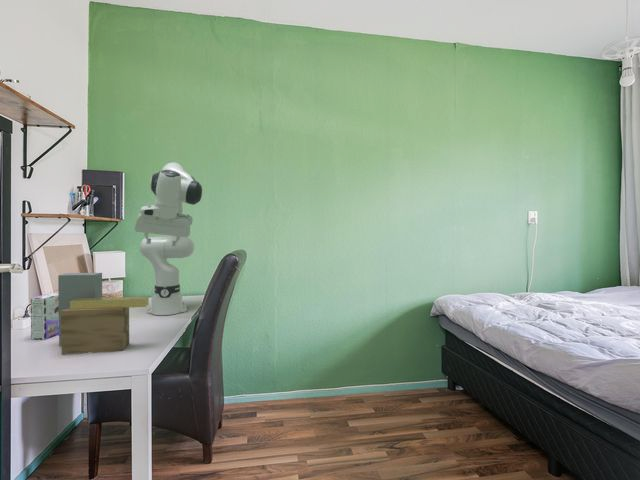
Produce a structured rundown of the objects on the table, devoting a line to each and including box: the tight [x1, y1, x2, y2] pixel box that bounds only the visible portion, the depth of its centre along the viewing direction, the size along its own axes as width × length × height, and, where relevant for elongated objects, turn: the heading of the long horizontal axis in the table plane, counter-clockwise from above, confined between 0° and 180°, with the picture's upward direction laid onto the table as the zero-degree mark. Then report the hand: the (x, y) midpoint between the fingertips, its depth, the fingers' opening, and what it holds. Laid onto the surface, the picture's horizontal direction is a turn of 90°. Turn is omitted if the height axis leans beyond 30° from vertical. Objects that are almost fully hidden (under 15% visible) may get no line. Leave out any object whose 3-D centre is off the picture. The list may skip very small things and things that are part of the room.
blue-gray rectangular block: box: [57, 272, 103, 347], centre depth 127 cm, size 6×12×26 cm, turn 102°
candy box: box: [30, 291, 59, 341], centre depth 136 cm, size 14×6×16 cm, turn 178°
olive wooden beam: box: [70, 296, 150, 310], centre depth 121 cm, size 4×24×3 cm, turn 103°
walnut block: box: [60, 307, 130, 355], centre depth 120 cm, size 7×19×15 cm, turn 102°
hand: (161, 244), depth 137 cm, fingers open, 8 cm apart
